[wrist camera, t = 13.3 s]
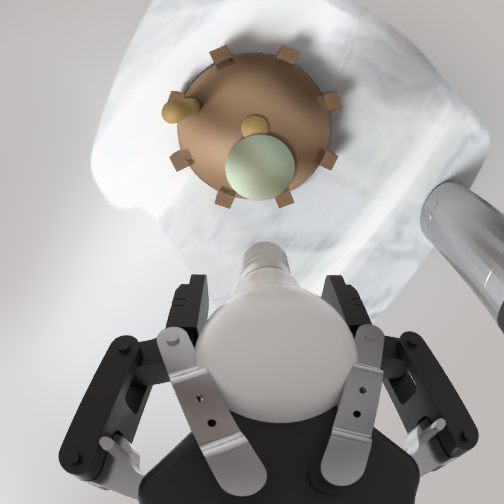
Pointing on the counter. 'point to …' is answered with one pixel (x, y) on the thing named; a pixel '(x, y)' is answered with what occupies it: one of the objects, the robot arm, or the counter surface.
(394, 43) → the counter surface
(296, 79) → the sprocket
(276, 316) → the lightbulb
